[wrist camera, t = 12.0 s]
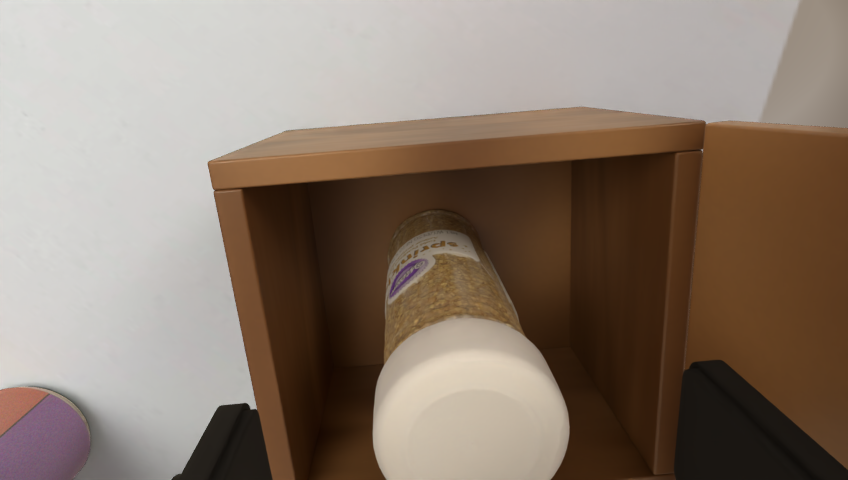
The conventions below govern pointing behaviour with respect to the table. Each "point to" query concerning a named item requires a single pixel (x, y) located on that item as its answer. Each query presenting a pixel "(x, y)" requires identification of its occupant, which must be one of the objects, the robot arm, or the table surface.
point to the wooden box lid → (776, 269)
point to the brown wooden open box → (508, 251)
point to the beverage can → (41, 435)
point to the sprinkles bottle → (460, 366)
